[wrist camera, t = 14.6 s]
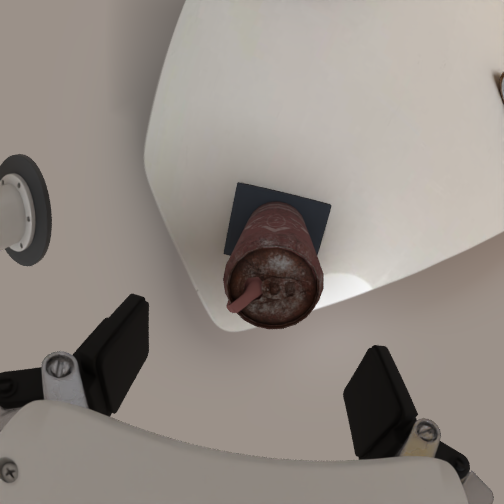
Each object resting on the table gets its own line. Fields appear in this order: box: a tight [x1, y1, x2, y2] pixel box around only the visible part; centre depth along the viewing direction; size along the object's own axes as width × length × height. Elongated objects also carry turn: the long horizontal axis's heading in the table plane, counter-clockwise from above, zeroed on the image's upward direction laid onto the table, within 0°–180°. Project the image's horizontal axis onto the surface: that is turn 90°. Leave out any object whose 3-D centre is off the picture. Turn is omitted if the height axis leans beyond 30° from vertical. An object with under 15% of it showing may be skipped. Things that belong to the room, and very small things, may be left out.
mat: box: [224, 182, 331, 256], centre depth 29 cm, size 10×8×1 cm
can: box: [223, 202, 323, 329], centre depth 22 cm, size 6×6×14 cm
